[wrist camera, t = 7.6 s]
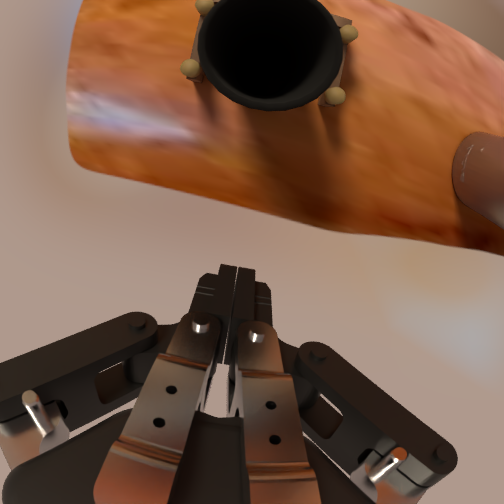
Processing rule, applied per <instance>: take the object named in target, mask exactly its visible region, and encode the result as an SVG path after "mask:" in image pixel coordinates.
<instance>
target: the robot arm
mask: <svg viewBox="0 0 504 504" xmlns="http://www.w3.org/2000/svg"><path fill="white" fill-rule="evenodd" d="M452 178H453V185H454V188H455V192H456V194H457V196H458V198H459V199H460V200H461V201H462V203H464V204H465V205H466V206H468V207H469V208H471V209H473V210H474V211H476V212H478V213H479V214H481V215H483V216H484V217H486V218H487V219H489V220H490V221H492V222H493V223H495V224H496V225H498V226H499V227H501V228H502V229H504V137H500V136H496V135H492V134H488V133H484V132H475V133H473V134H470V135H469V136H467V137H466V138H465V139H464V140H463V141H462V143H461V144H460V146H459V147H458V149H457V151H456V154H455V157H454V162H453V168H452ZM236 273H237V267H236V266H230V265H224V264H221V265H220V269H219V273H218V275H216V274H210V273H206V274H205V275H203V276H202V277H201V278H200V279H199V282H198V285H197V288H196V291H195V294H194V297H193V300H192V303H191V306H190V309H189V312H188V313H187V314H185V315H184V316H183V317H182V318H181V321H180V322H179V323H176V324H172V325H157V321H156V320H155V319H154V318H153V317H152V316H151V315H149V314H146V313H143V312H130V313H127V314H124V315H122V316H119V317H117V318H114V319H112V320H109V321H107V322H104V323H101V324H99V325H97V326H94V327H91V328H89V329H86V330H84V331H81V332H79V333H76V334H74V335H71V336H69V337H66V338H64V339H61V340H58V341H56V342H53V343H51V344H48V345H46V346H43V347H41V348H38V349H36V350H33V351H30V352H28V353H25V354H23V355H20V356H17V357H15V358H13V359H10V360H7V361H5V362H2V363H0V447H1V449H2V451H3V453H4V456H5V458H6V460H7V462H8V464H9V467H10V469H11V472H10V473H9V475H8V476H7V478H6V480H5V482H4V485H3V490H2V501H3V504H417V503H418V501H419V500H420V499H421V497H422V496H423V495H424V493H425V492H426V490H427V489H429V488H430V487H432V486H433V485H434V484H436V483H437V482H439V481H440V480H441V479H442V478H444V477H445V476H447V475H448V474H449V473H450V472H452V471H453V470H454V468H455V467H456V465H457V461H458V457H457V453H456V451H455V449H454V447H453V446H452V445H451V444H450V443H449V442H448V441H446V440H445V439H444V438H443V437H441V436H440V435H439V434H437V433H436V432H435V431H433V430H432V429H431V428H430V427H428V426H427V425H426V424H424V423H423V422H422V421H420V420H419V419H418V418H417V417H416V416H414V415H413V414H412V413H411V412H409V411H408V410H407V409H405V408H404V407H403V406H402V405H401V404H399V403H398V402H397V401H395V400H394V399H393V398H392V397H390V396H389V395H388V394H387V393H385V392H384V391H383V390H382V389H381V388H379V387H378V386H377V385H376V384H374V383H373V382H372V381H371V380H369V379H368V378H367V377H366V376H364V375H363V374H362V373H361V372H360V371H358V370H357V369H356V368H355V367H353V366H352V365H351V364H350V363H349V362H347V361H346V360H345V359H343V357H341V356H340V355H339V354H338V353H336V352H335V351H334V350H333V349H332V348H330V347H329V346H327V345H325V344H323V343H320V342H306V343H304V344H302V345H301V346H300V348H297V347H294V346H291V345H289V344H286V343H284V342H283V341H281V340H280V339H279V338H278V336H277V332H276V331H275V329H274V328H273V325H272V306H271V290H270V289H269V287H268V286H267V284H266V283H263V282H257V281H255V270H254V269H248V268H242V267H239V268H238V273H237V279H236ZM235 280H236V284H235ZM234 287H235V289H234ZM227 333H228V336H227ZM226 339H227V343H226ZM225 344H226V351H225V359H224V364H226V365H229V373H228V378H227V417H226V418H217V417H214V416H211V415H208V414H206V413H204V410H205V407H206V403H207V399H208V395H209V392H210V388H211V384H212V380H213V375H214V374H215V372H216V367H217V363H220V364H222V361H223V355H224V349H225ZM120 362H122V363H120ZM118 363H120V364H118ZM115 364H117V365H115ZM113 365H115V366H113ZM111 366H113V367H111ZM109 367H111V368H109ZM107 368H109V369H107ZM105 369H107V370H105ZM103 370H105V371H103ZM101 371H103V372H101ZM99 372H100V373H99ZM320 394H323V395H324V396H325V397H326V398H327V399H328V400H329V401H330V402H331V403H333V404H334V405H335V406H336V407H337V408H338V409H339V410H340V411H341V413H342V415H343V416H342V415H341V414H340V413H338V412H337V411H336V410H335V409H334V408H333V407H332V406H330V404H328V403H327V402H326V401H325V400H324V399H323V398H322V397H321V396H320ZM137 397H138V398H137ZM135 398H137V400H136V403H135V405H134V407H133V408H131V409H127V410H124V411H121V412H119V413H116V414H114V415H113V416H111V417H109V418H107V419H106V420H104V421H102V422H100V423H98V424H97V425H95V426H93V427H91V428H90V429H88V430H86V431H84V432H82V433H80V434H79V435H77V436H75V437H73V438H71V439H69V432H71V431H73V430H75V429H77V428H79V427H82V426H84V425H85V424H88V423H90V422H92V421H94V420H95V419H97V418H99V417H101V416H103V415H105V414H107V413H109V412H111V411H113V410H115V409H117V408H118V407H120V406H122V405H124V404H126V403H128V402H130V401H132V400H133V399H135ZM303 432H304V433H305V434H306V435H308V437H309V438H311V439H312V441H314V443H316V444H317V445H318V446H319V447H320V448H321V449H322V450H323V451H324V452H325V453H326V454H327V455H328V456H329V457H330V458H331V459H332V460H333V461H335V462H336V463H337V464H338V465H339V466H340V467H341V468H342V469H343V470H344V471H346V472H347V473H348V474H349V475H350V479H349V478H348V477H347V476H346V475H345V474H344V473H343V472H342V471H341V470H340V469H339V468H338V467H337V466H336V465H335V464H334V463H333V462H332V461H331V460H330V459H329V458H328V457H327V456H326V455H325V454H324V453H323V452H322V451H321V450H320V449H319V448H318V447H317V446H316V445H315V444H314V443H313V442H312V441H310V440H309V439H308V438H306V437H305V436H303ZM68 439H69V440H68Z"/></svg>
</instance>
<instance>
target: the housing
mask: <svg viewBox="0 0 504 504" xmlns="http://www.w3.org/2000/svg"><path fill="white" fill-rule="evenodd" d="M219 1H220V0H197V1H196V3H195V6H196V8H197V10H198V12H199V13H200V14H201V15H200V19H199V23H198V27H197V31H196V35H195V40H194V44H193V49H192V53H191V58H190V59H187V60H185V61H184V62H183V63H182V64H181V67H180V70H181V72H182V73H183V74H184V75H186V76H187V78H186V79H188V80H191V81H193V82H200V83H202V78H203V73H204V71H203V69H202V67H201V65H200V60H199V56H198V51H197V45H198V34H199V31H200V28H201V25H202V23H203V20H204V18H205V17H206V15H207V14H208V13H209V11H210V10H211V8H212V7H213V6H214V5H215V4H217V3H218V2H219ZM331 15H332V16H333V18H334V20H335V22H336V24H337V25H338V27H339V29H340V33H341V37H342V41H343V61H342V64H341V67H340V70H339V73H338V75H337V77H336V78H335V80H334V81H333V83H332V84H331V86H330V87H329V88H328V89H327V90H326V91H325V92H324V93H323V94H321V95H320V97H319V102H318V105H322V106H325V107H335V104H341V103H343V102H344V100H345V97H346V95H345V92H344V91H343V90H342V89H341V88H339V85H340V80H341V75H342V70H343V65H344V60H345V55H346V50H347V45H348V43H350V42H352V41H353V40H355V39H356V38H357V37H358V31H357V29H356V28H355V27H354V26H352V25H351V24H352V20H349V19H346V18H343V17H340V16H337V15H333V14H331Z"/></svg>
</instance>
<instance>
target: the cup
mask: <svg viewBox="0 0 504 504" xmlns="http://www.w3.org/2000/svg"><path fill="white" fill-rule="evenodd" d="M197 51H198V56H199V60H200V65H201V67H202V69H203V71H204V73H205V75H206V77H207V79H208V80H209V81H210V82H211V83H212V84H213V85H214V87H215V88H216V89H217V90H218V91H219V92H220V93H222V94H223V95H225V96H226V97H227V98H229V99H230V100H232V101H233V102H236V103H238V104H241V105H243V106H246V107H248V108H252V109H257V110H263V111H286V110H289V109H293V108H297V107H301V106H303V105H305V104H307V103H309V102H311V101H313V100H315V99H317V98H318V97H319V96H320V95H321V94H323V93H324V92H325V91H326V90H327V89H328V88H329V87H330V86H331V84H332V83H333V81H334V80H335V78H336V77H337V75H338V73H339V70H340V67H341V64H342V61H343V41H342V37H341V33H340V29H339V27H338V25H337V24H336V22H335V20H334V18H333V16H332V15H331V14H330V13H329V11H328V10H327V9H326V8H325V7H324V6H323V5H322V4H321V3H320V2H318V1H317V0H220V1H219V2H218V3H217V4H215V5H214V6H213V7H212V8H211V10H210V11H209V13H208V14H207V15H206V17H205V18H204V20H203V23H202V25H201V28H200V31H199V34H198V45H197Z"/></svg>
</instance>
